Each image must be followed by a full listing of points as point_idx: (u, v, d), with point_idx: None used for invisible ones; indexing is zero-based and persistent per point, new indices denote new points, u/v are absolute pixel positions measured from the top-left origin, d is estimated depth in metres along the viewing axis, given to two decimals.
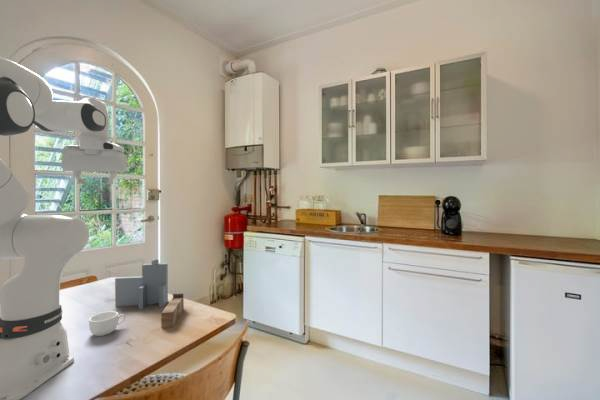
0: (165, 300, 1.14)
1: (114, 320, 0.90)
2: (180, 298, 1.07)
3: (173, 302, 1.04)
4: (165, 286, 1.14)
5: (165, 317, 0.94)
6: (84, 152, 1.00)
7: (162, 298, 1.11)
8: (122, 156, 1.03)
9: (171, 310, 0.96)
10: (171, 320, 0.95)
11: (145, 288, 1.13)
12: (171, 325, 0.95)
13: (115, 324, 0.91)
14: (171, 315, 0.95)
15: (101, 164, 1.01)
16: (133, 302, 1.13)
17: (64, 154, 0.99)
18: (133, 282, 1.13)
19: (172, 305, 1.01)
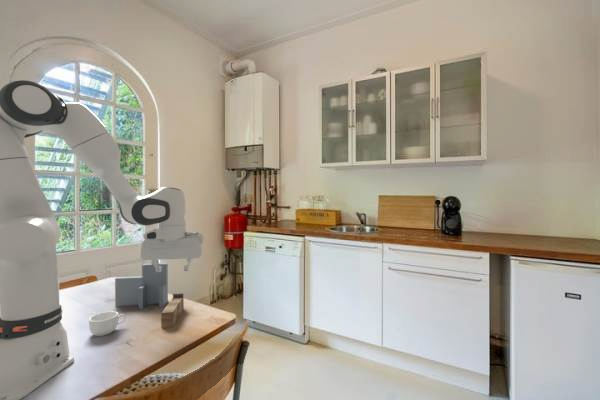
0: (165, 300, 1.14)
1: (114, 320, 0.90)
2: (180, 298, 1.07)
3: (173, 302, 1.04)
4: (165, 286, 1.14)
5: (165, 317, 0.94)
6: None
7: (162, 298, 1.11)
8: None
9: (171, 310, 0.96)
10: (171, 320, 0.95)
11: (145, 288, 1.13)
12: (171, 325, 0.95)
13: (115, 324, 0.91)
14: (171, 315, 0.95)
15: None
16: (133, 302, 1.13)
17: None
18: (133, 282, 1.13)
19: (172, 305, 1.01)
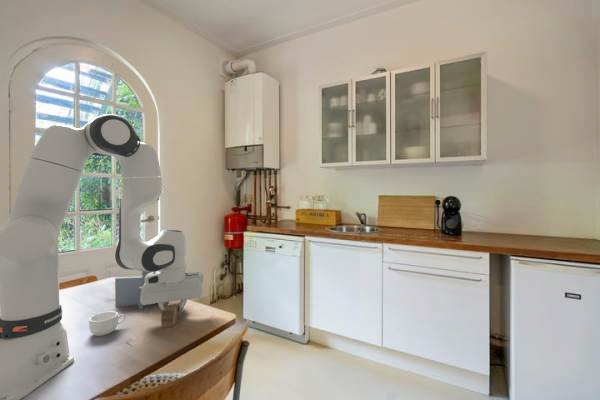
0: None
1: (114, 320, 0.90)
2: None
3: (173, 302, 1.04)
4: None
5: (165, 317, 0.94)
6: None
7: None
8: None
9: (171, 310, 0.96)
10: (171, 320, 0.95)
11: None
12: (171, 325, 0.95)
13: (115, 324, 0.91)
14: (171, 315, 0.95)
15: None
16: (133, 302, 1.13)
17: None
18: (133, 282, 1.13)
19: (172, 305, 1.01)
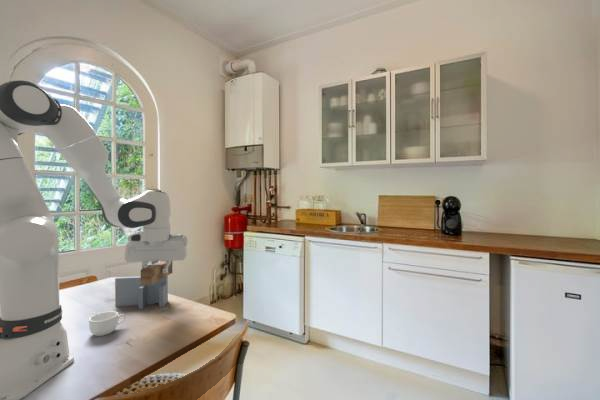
0: (165, 300, 1.14)
1: (114, 320, 0.90)
2: None
3: (159, 263, 1.05)
4: (165, 286, 1.14)
5: (144, 274, 0.96)
6: None
7: (162, 298, 1.11)
8: None
9: (151, 268, 0.97)
10: (149, 278, 0.96)
11: (145, 288, 1.13)
12: (149, 283, 0.96)
13: (115, 324, 0.91)
14: (149, 273, 0.96)
15: None
16: (133, 302, 1.13)
17: None
18: (133, 282, 1.13)
19: (156, 265, 1.02)
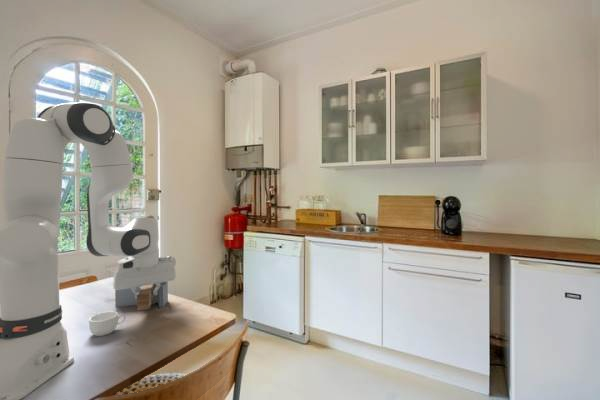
0: (165, 300, 1.14)
1: (114, 320, 0.90)
2: None
3: (145, 286, 1.07)
4: (165, 286, 1.14)
5: (141, 300, 0.98)
6: None
7: (162, 298, 1.11)
8: None
9: (147, 293, 1.00)
10: (147, 302, 0.99)
11: None
12: (147, 307, 0.99)
13: (115, 324, 0.91)
14: (147, 298, 0.99)
15: None
16: (133, 302, 1.13)
17: None
18: None
19: (145, 289, 1.04)
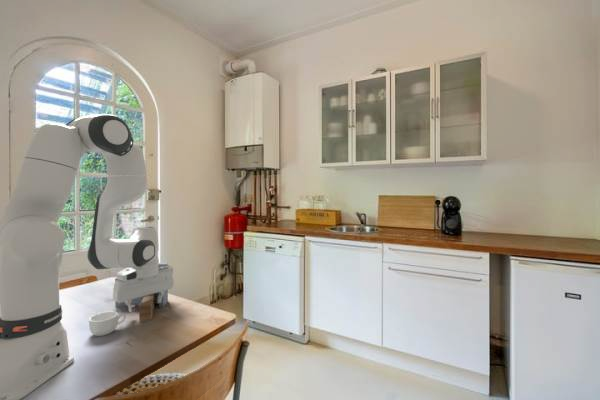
0: (165, 300, 1.14)
1: (114, 320, 0.90)
2: (152, 294, 1.11)
3: (147, 298, 1.07)
4: None
5: (143, 311, 0.99)
6: None
7: (162, 298, 1.11)
8: (115, 285, 0.98)
9: (149, 305, 1.01)
10: (149, 314, 1.00)
11: None
12: (149, 319, 1.00)
13: (115, 324, 0.91)
14: (149, 309, 1.00)
15: None
16: (133, 302, 1.13)
17: None
18: None
19: (147, 300, 1.05)
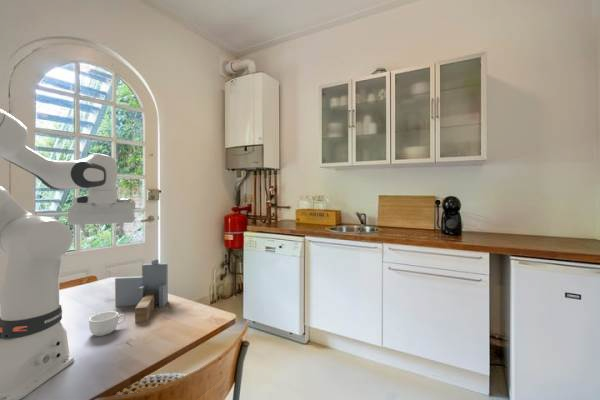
0: (165, 300, 1.14)
1: (114, 320, 0.90)
2: (152, 294, 1.11)
3: (146, 298, 1.07)
4: (165, 286, 1.14)
5: (139, 312, 0.98)
6: None
7: (162, 298, 1.11)
8: None
9: (145, 305, 1.00)
10: (145, 315, 0.99)
11: (145, 288, 1.13)
12: (145, 320, 0.99)
13: (115, 324, 0.91)
14: (145, 310, 0.99)
15: None
16: (133, 302, 1.13)
17: None
18: (133, 282, 1.13)
19: (145, 301, 1.04)
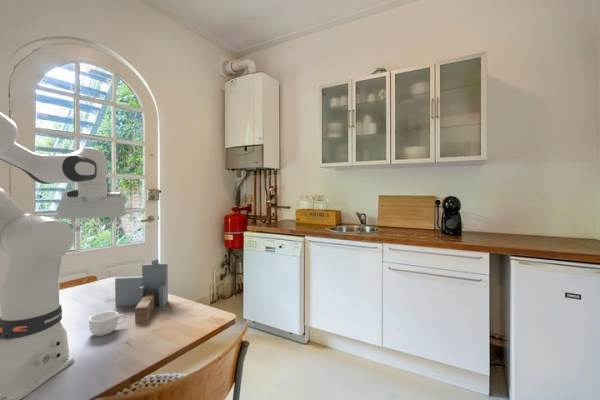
0: (165, 300, 1.14)
1: (114, 320, 0.90)
2: (152, 294, 1.11)
3: (146, 298, 1.07)
4: (165, 286, 1.14)
5: (139, 312, 0.98)
6: None
7: (162, 298, 1.11)
8: None
9: (145, 305, 1.00)
10: (145, 315, 0.99)
11: (145, 288, 1.13)
12: (145, 320, 0.99)
13: (115, 324, 0.91)
14: (145, 310, 0.99)
15: None
16: (133, 302, 1.13)
17: None
18: (133, 282, 1.13)
19: (145, 301, 1.04)
